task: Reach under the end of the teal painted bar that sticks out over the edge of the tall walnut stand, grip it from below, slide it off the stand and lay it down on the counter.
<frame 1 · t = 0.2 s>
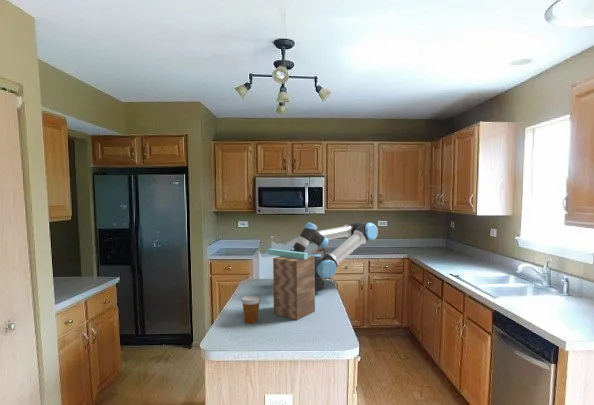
hand: (284, 274, 199), 15 cm above the table, tool tilted 35°, fingers open, 13 cm apart
stand: (294, 312, 175), on the table
disposable coffee cup: (251, 321, 163), on the table
bar: (287, 256, 178), point 30 cm above the table, touching stand
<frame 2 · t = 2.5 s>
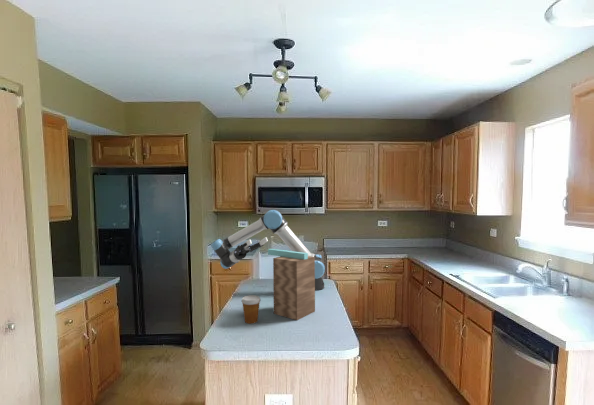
hand: (259, 240, 192), 37 cm above the table, tool pointing upward, fingers open, 13 cm apart
nothing on the table moved.
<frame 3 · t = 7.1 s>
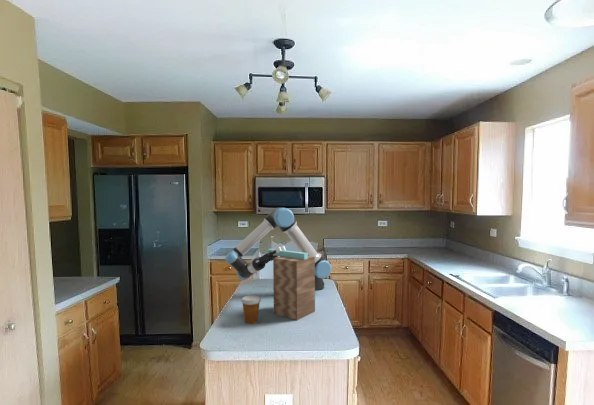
hand: (282, 248, 180), 34 cm above the table, tool pointing upward, fingers closed on bar, 3 cm apart
bar: (287, 256, 178), point 30 cm above the table, touching gripper, stand
everything else where it was.
when the fingers open (14 cm above the table, at t = 14.3 s): bar drops 9 cm, on the table.
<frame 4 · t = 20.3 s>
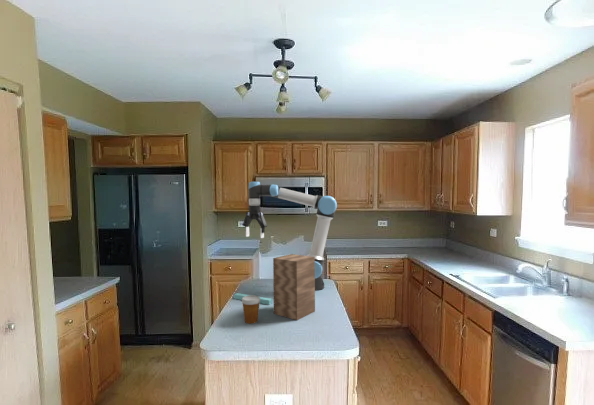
hand: (254, 237, 213), 37 cm above the table, tool pointing down, fingers open, 13 cm apart
bar: (252, 301, 196), on the table
everything else where it was.
at the end: bar on the table; bar touching table; the gripper is holding nothing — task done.
